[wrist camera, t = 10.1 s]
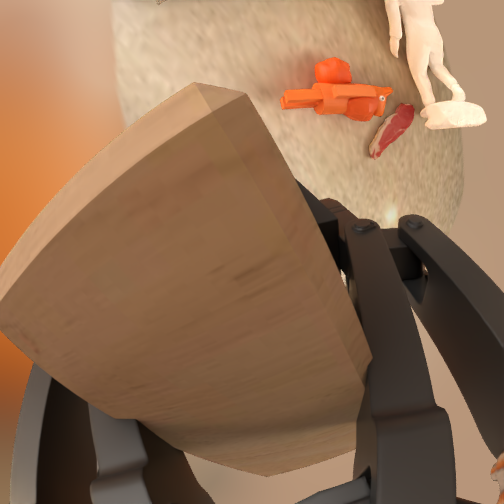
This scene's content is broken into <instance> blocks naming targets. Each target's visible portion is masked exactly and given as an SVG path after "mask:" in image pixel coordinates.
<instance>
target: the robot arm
mask: <svg viewBox="0 0 504 504" xmlns="http://www.w3.org/2000/svg"><path fill="white" fill-rule="evenodd" d="M295 180H296V179H295ZM296 182H297V184H298V186H299V188H300V190H301V192H302V194H303V196H304V198H305V200H306V202H307V204H308V206H309V208H310V210H311V212H312V214H313V216H314V218H315V220H316V222H317V224H318V227H319V229H320V231H321V233H322V235H323V237H324V239H325V242H326V244H327V246H328V248H329V250H330V252H331V255H332V257H333V259H334V261H335V264H336V266H337V268H338V271H339V273H340V275H341V270H342V271H343V272H344V274H345V275H346V289H347V292H348V294H349V297H350V299H351V301H352V304H353V306H354V309H355V311H356V314H357V316H358V319H359V322H360V324H361V327H362V329H363V332H364V335H365V337H366V340H367V343H368V345H369V348H370V351H371V354H372V357H373V358H372V360H371V362H370V363H369V365H368V366H367V376H366V385H365V391H364V395H363V399H362V403H361V407H360V410H359V414H358V417H357V421H356V453H355V459H354V468H353V469H354V470H353V480H352V481H350V482H347V483H345V484H342V485H339V486H335V487H333V488H330V489H326V490H323V491H319V492H317V493H315V494H314V495H312V496H310V497H308V498H306V499H304V500H302V501H300V502H298V503H295V504H480V503H476V502H472V501H469V500H465V499H462V498H458V497H456V471H455V457H454V447H453V438H452V430H451V424H450V420H449V416H448V414H447V412H446V411H445V409H444V408H441V407H439V406H437V404H436V403H435V399H434V395H433V390H432V385H431V380H430V375H429V371H428V367H427V363H426V358H425V355H424V351H423V347H422V343H421V339H420V336H419V332H418V329H417V325H416V322H415V319H414V316H413V312H412V309H411V307H412V308H413V310H414V312H415V313H416V315H417V316H418V318H419V319H420V321H421V322H422V324H423V326H424V327H425V329H426V330H427V332H428V334H429V335H430V337H431V339H432V340H433V342H434V343H435V345H436V347H437V348H438V350H439V352H440V354H441V356H442V357H443V359H444V361H445V363H446V364H447V366H448V368H449V370H450V372H451V374H452V376H453V377H454V379H455V381H456V383H457V385H458V387H459V389H460V391H461V393H462V395H463V397H464V399H465V401H466V403H467V405H468V407H469V409H470V412H471V414H472V416H473V418H474V420H475V423H476V425H477V427H478V430H479V432H480V434H481V436H482V438H483V440H484V442H485V443H486V445H487V446H488V448H489V450H490V451H491V453H492V454H493V455H494V457H495V458H496V459H497V462H496V463H495V464H494V465H493V467H492V469H491V474H490V475H491V479H492V480H493V481H498V484H499V486H500V495H499V499H498V502H497V504H504V293H503V292H502V291H501V289H500V288H499V287H498V286H497V285H496V284H495V283H494V282H493V281H492V280H491V278H490V277H489V276H488V275H487V274H486V273H485V272H484V271H483V270H482V269H481V268H480V267H479V266H478V265H477V264H476V263H475V262H474V261H473V260H472V259H471V258H470V257H469V256H468V255H467V254H466V253H465V252H464V251H463V250H462V249H461V248H460V247H458V246H457V245H456V244H455V243H454V242H453V241H452V240H451V239H450V238H449V237H447V236H446V235H445V234H444V233H443V232H442V231H441V230H440V229H438V228H437V227H436V226H435V225H434V224H432V223H431V222H430V221H429V220H428V219H426V218H424V217H422V216H419V215H414V214H411V215H405V216H403V217H401V218H400V219H399V222H398V228H390V229H380V226H379V225H378V224H377V223H376V222H374V221H373V220H369V219H358V218H357V217H356V216H355V215H353V214H352V213H351V212H350V211H349V210H347V209H346V208H345V207H344V206H343V205H342V204H341V203H339V202H338V201H336V200H333V199H330V198H327V199H323V200H318V199H317V198H316V197H315V196H314V195H313V194H312V193H311V192H310V191H308V190H307V189H306V188H305V187H304V186H303V185H302V184H301V183H300V182H299V181H297V180H296ZM425 267H426V268H427V271H428V272H427V271H426V270H425ZM410 305H411V306H410ZM10 484H11V485H10V504H215V503H214V502H213V500H212V498H211V497H210V496H209V494H208V493H207V492H206V491H205V490H204V489H203V488H202V487H201V486H200V485H199V483H198V482H197V480H196V478H195V476H194V474H193V472H192V470H191V468H190V466H189V464H188V461H187V459H186V457H185V455H184V452H183V451H181V450H179V449H176V448H174V447H173V446H171V445H170V444H169V443H167V442H166V441H164V440H163V439H161V438H160V437H159V436H157V435H156V434H155V433H153V432H152V431H151V430H149V429H148V428H147V427H145V426H144V425H143V424H142V423H140V422H139V421H138V420H137V419H115V418H113V417H111V416H109V415H108V414H106V413H104V412H103V411H101V410H99V409H98V408H96V407H95V406H93V405H91V404H90V403H88V402H87V401H85V400H84V399H82V398H81V397H79V396H78V395H76V394H75V393H73V392H72V391H71V390H69V389H68V388H66V387H65V386H64V385H62V384H61V383H60V382H58V381H57V380H56V379H54V378H53V377H52V376H50V375H49V374H48V373H47V372H45V371H44V370H43V369H42V368H40V367H39V366H38V365H37V364H36V363H35V362H34V363H33V366H32V370H31V373H30V376H29V380H28V383H27V387H26V390H25V394H24V398H23V402H22V406H21V411H20V415H19V420H18V425H17V431H16V437H15V443H14V450H13V458H12V468H11V483H10Z"/></svg>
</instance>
